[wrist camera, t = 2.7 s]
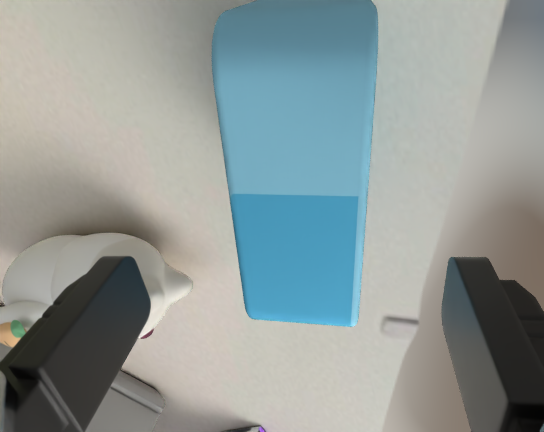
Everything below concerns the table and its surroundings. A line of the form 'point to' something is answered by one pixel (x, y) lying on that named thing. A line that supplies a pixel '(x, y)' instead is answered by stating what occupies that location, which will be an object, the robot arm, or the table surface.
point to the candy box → (248, 430)
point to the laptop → (123, 405)
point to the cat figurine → (71, 266)
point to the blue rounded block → (298, 151)
